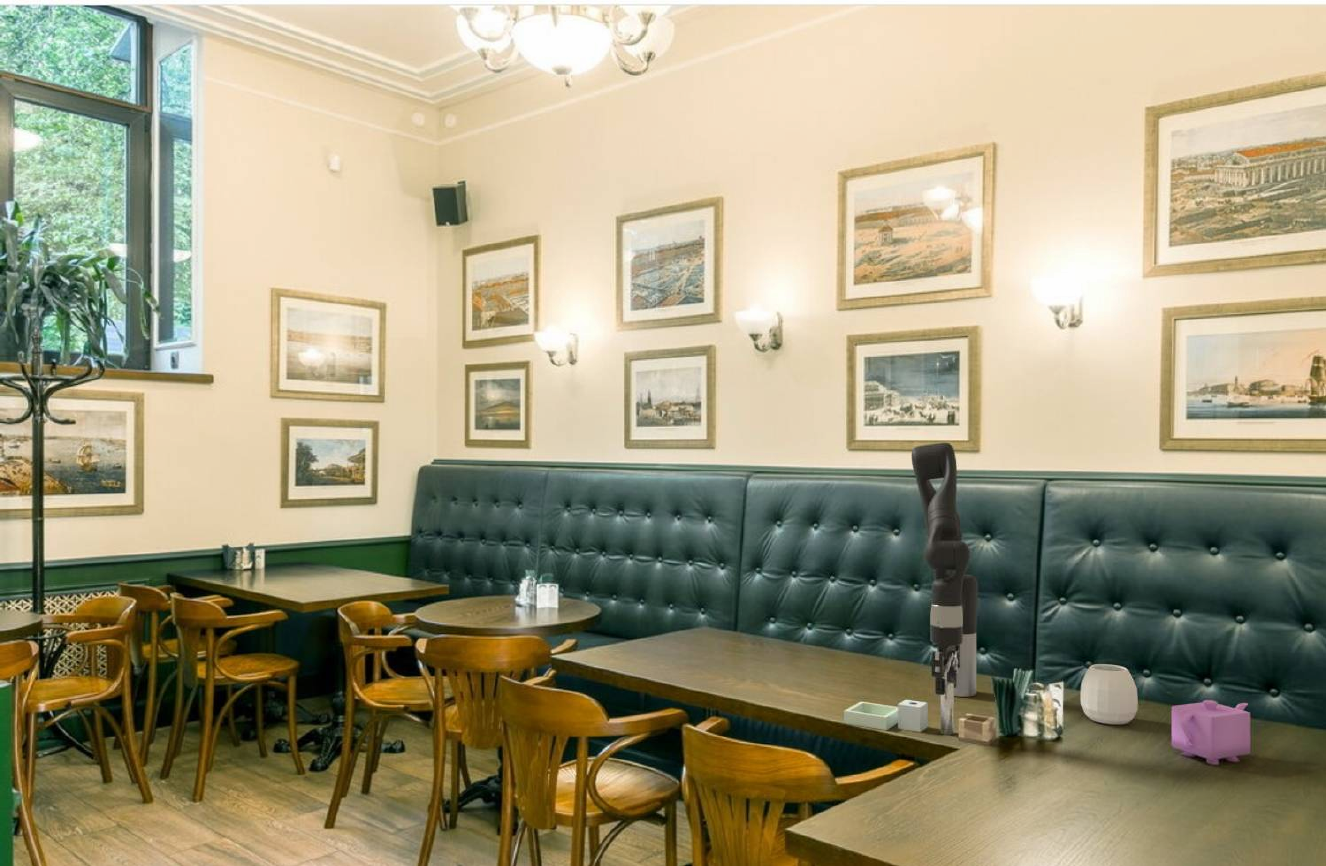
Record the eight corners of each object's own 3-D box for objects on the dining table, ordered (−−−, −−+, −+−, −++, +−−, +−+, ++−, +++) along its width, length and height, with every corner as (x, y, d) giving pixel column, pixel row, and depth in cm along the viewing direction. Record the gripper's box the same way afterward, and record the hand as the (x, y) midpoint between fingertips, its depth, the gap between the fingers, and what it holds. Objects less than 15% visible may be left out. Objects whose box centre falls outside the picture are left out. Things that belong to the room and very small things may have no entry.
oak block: (967, 734, 239) (967, 713, 240) (995, 738, 236) (995, 717, 236) (958, 741, 234) (958, 719, 234) (988, 745, 230) (988, 724, 230)
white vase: (1137, 717, 255) (1137, 665, 255) (1138, 730, 243) (1138, 675, 243) (1081, 711, 260) (1081, 660, 260) (1079, 724, 248) (1079, 670, 248)
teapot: (1202, 768, 214) (1202, 709, 214) (1163, 754, 224) (1163, 698, 224) (1268, 758, 222) (1268, 701, 222) (1227, 745, 231) (1227, 691, 231)
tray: (860, 713, 257) (861, 701, 257) (902, 720, 251) (902, 707, 251) (844, 723, 248) (844, 710, 248) (886, 730, 242) (886, 717, 242)
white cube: (905, 723, 248) (905, 699, 248) (927, 727, 245) (927, 702, 245) (898, 728, 244) (898, 703, 244) (920, 732, 241) (920, 707, 241)
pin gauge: (942, 730, 242) (943, 681, 242) (955, 732, 240) (955, 682, 240) (939, 733, 239) (939, 683, 239) (951, 735, 238) (951, 685, 238)
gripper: (940, 618, 248) (940, 683, 248) (921, 625, 236) (920, 694, 236) (970, 621, 244) (970, 687, 244) (952, 629, 232) (952, 698, 232)
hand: (946, 690), depth 240 cm, fingers open, 8 cm apart
